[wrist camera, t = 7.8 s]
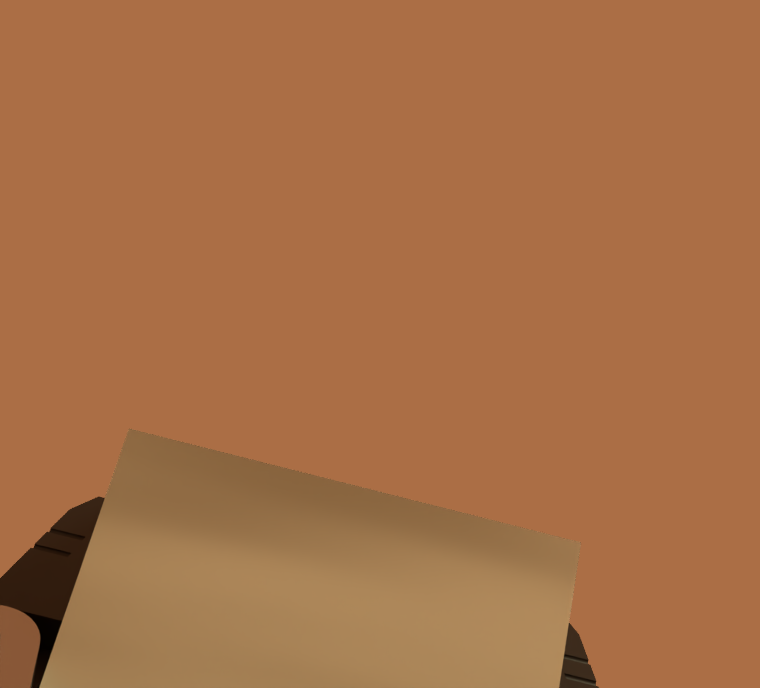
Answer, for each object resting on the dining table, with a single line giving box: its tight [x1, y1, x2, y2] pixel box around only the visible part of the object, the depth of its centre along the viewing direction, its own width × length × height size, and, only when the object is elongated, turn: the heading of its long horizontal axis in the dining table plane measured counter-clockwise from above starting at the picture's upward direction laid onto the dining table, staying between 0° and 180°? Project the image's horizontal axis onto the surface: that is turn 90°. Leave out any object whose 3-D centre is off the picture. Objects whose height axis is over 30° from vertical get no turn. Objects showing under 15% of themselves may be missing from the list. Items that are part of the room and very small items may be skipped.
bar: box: [39, 429, 581, 688], centre depth 18 cm, size 24×5×5 cm, turn 5°
